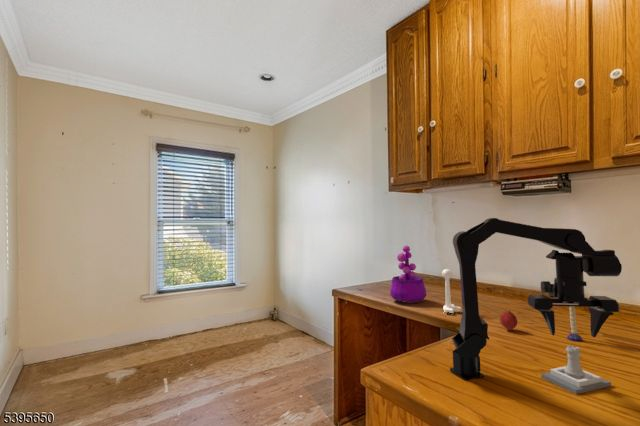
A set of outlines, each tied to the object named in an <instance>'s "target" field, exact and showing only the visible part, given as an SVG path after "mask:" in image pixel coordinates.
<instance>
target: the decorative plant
mask: <svg viewBox="0 0 640 426" xmlns="http://www.w3.org/2000/svg"><path fill="white" fill-rule="evenodd" d="M410 250H411V247H410V246H409V245H407V244H406V245H404V246H402V251H403V252H401V253H398V254H397V257H396V260H397V261H399V262H398V266H397V267H398V269H399V270H401V271H402V272H403V274H400V275H397V276H394V277H392V278H391V285H390V289H389V295H390V296H391V298H392V299H393V300H395V301H398V302H400V301H405V302H415V303H418V302H422V301H424V300H425V298H426V297H427V290H426V287H425V283H424V282H425V281H424V278H423V277H421V276H417V274H416V272H414V271H415V270H416V269H417V265H416V264H415V263H413V262H412V263H411V262H409V260H410V259H411V258H412V257H413V256H412V253H411V252H410ZM417 301H418V302H417ZM405 302H404V303H405Z"/></svg>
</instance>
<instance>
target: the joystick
mask: <svg viewBox="0 0 640 426" xmlns="http://www.w3.org/2000/svg"><path fill="white" fill-rule="evenodd" d="M441 276H442V278H444V281H445V282H444V283H445V286H444V287H445V288H444V289H445V291H444V292H445V304H444V305H443V306H442V307H443V310H444V312H449V313H448V314H450V313H453V311H461V312H462V307H460V306H456V305H455V304H453V303H452V299H451V284H450V283H451V282H450V280H451V278H452V276H453V272H452V270H451V269H449V268H444V269H443V270H442V271H441ZM444 312H443V313H444ZM453 314H454V313H453Z"/></svg>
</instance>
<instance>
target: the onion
mask: <svg viewBox="0 0 640 426" xmlns="http://www.w3.org/2000/svg"><path fill="white" fill-rule="evenodd" d="M499 322H500V324H501V326H502V327H504V328H505V329H506V331H512V330H514V329H515V328H516V327H517V325H518V317H516V316H515V314H514V313H513V312H511V311H510V309H506V310H505V312H503V313H502V314H501V315H500V317H499Z"/></svg>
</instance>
